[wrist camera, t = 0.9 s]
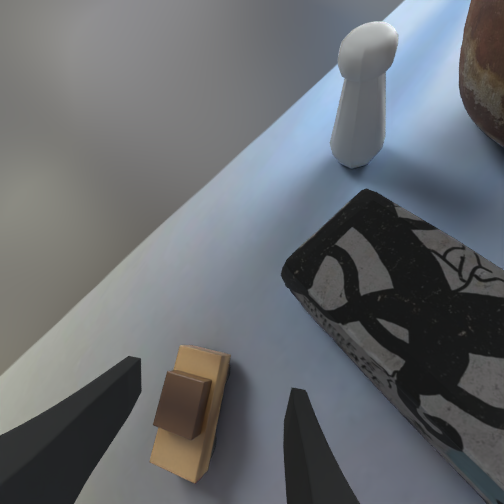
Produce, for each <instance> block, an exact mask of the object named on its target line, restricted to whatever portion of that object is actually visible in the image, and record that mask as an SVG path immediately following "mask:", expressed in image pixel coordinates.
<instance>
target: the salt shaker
mask: <svg viewBox="0 0 504 504" xmlns="http://www.w3.org/2000/svg"><path fill="white" fill-rule="evenodd" d="M397 46H398V33H397V32H396V30H395V28H394V27H393V26H392V25H390V24H388V23H385V22H370V23H366V24H362V25H361V26H359V27H357V28H355V29H353V30H352V31H351V32H350V33H349V34H348V35H347V36H346V37H345V38H344V40H343V41H342V43H341V46H340V49H339V55H338V66H339V69H340V72H341V75H342V77H344V78H345V79H344V83H343V88H342V92H341V97H340V101H339V106H338V110H337V115H336V119H335V123H334V127H333V131H332V135H331V139H330V146H331V150H332V154H333V156H334V157H335V158H336V160H337V161H338V162H339V163H341V164H343V165H345V166H346V167H348V168H350V169H353V168H356V167H360V166H364V165H367V164H368V163H369V162H370V161H371V160H372V159H373V157H374V156H375V155H376V154H377V153H378V152H379V151H380V150H381V149H382V147H383V143H384V140H385V116H386V71H387V70H388V69H389V68H390V67H391V65H392V63H393V61H394V57H395V53H396V50H397Z"/></svg>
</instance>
